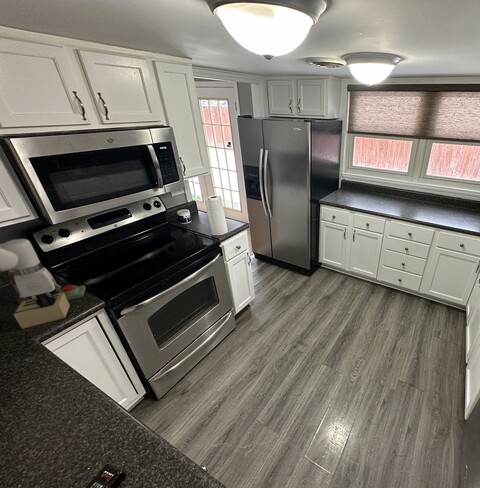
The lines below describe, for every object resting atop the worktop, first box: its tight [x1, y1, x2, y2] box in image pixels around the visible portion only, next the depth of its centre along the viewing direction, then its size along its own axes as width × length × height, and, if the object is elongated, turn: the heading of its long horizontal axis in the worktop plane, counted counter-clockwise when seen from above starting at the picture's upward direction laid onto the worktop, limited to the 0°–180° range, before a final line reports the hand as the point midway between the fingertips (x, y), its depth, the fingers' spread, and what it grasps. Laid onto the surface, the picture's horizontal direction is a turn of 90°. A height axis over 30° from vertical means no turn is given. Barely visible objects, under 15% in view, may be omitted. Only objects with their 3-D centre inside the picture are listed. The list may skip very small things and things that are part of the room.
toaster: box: [13, 293, 71, 330], centre depth 118 cm, size 14×10×8 cm
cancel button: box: [62, 284, 74, 292], centre depth 132 cm, size 4×4×2 cm
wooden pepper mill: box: [6, 270, 32, 305], centre depth 125 cm, size 7×6×18 cm
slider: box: [39, 293, 50, 307], centre depth 114 cm, size 2×3×5 cm, turn 32°
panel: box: [57, 284, 87, 301], centre depth 133 cm, size 10×9×4 cm
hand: (47, 304), depth 115 cm, fingers closed
